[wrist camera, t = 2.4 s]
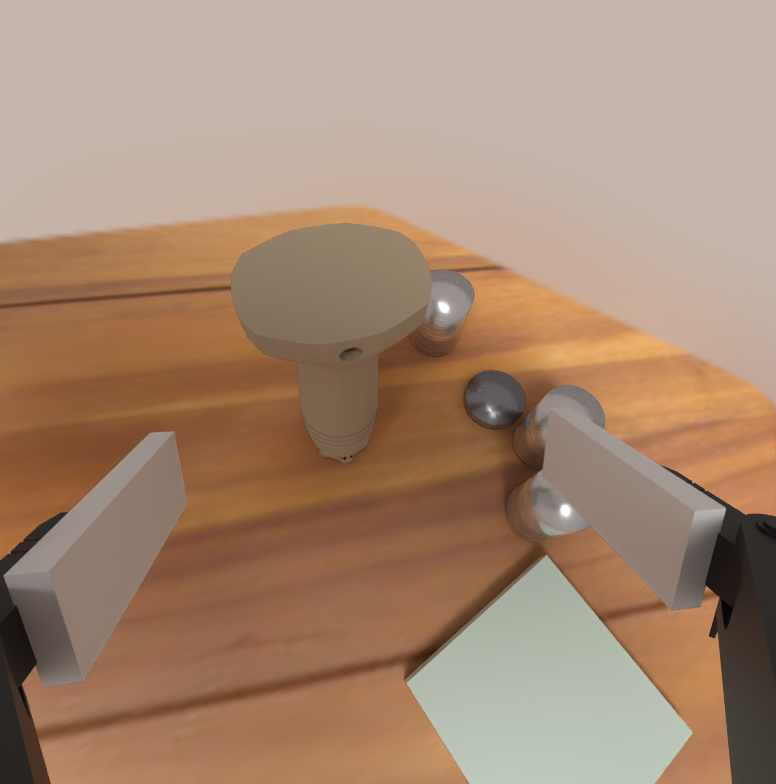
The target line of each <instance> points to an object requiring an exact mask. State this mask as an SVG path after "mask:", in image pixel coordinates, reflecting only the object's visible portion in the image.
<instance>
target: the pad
mask: <svg viewBox="0 0 776 784" xmlns="http://www.w3.org/2000/svg"><path fill="white" fill-rule="evenodd" d="M404 681H405V682H406V684H407V686H408V687H409V689H410V690H411V692H412V694H413V695H414V697H415V698H416V700H417V702H418V703H419V705H420V706H421V708H422V709H423V711H424V713H425V714H426V716H427V717H428V719H429V721H430V722H431V724H432V725H433V727H434V729H435V730H436V732H437V733H438V735H439V737H440V738H441V740H442V741H443V743H444V745H445V746H446V748H447V749H448V751H449V752H450V754H451V756H452V757H453V759H454V760H455V762H456V764H457V765H458V767H459V768H460V770H461V772H462V773H463V775H464V776H465V778H466V780H467V781H468V783H469V784H655V782H656V781H657V780H658V778H659V777H660V776H661V774H662V773H663V772H664V770H665V769H666V768H667V766H668V765H669V764H670V762H671V761H672V760H673V758H674V757H675V756H676V754H677V753H678V752H679V750H680V749H681V748H682V746H683V745H684V744H685V742H686V741H687V740H688V738H689V737H690V736H691V735H692V733H693V732H692V731H691V730H690V728H689V727H688V726H687V725H686V724H685V722H684V721H683V720H682V719H681V717H680V716H679V715H678V714H677V713H676V711H675V710H674V709H673V708H672V707H671V705H670V704H669V703H668V702H667V700H666V699H665V698H664V697H663V696H662V694H661V693H660V692H659V691H658V690H657V688H656V687H655V686H654V685H653V683H652V682H651V681H650V680H649V679H648V677H647V676H646V675H645V674H644V672H643V671H642V670H641V669H640V668H639V666H638V665H637V664H636V663H635V662H634V660H633V659H632V658H631V657H630V655H629V654H628V653H627V652H626V651H625V649H624V648H623V647H622V646H621V645H620V643H619V642H618V641H617V640H616V638H615V637H614V636H613V635H612V634H611V632H610V631H609V630H608V629H607V628H606V626H605V625H604V624H603V623H602V621H601V620H600V619H599V618H598V617H597V615H596V614H595V613H594V612H593V610H592V609H591V608H590V607H589V606H588V604H587V603H586V602H585V601H584V600H583V598H582V597H581V596H580V595H579V593H578V592H577V591H576V590H575V589H574V587H573V586H572V585H571V584H570V583H569V581H568V580H567V579H566V578H565V576H564V575H563V574H562V573H561V572H560V570H559V569H558V568H557V567H556V565H555V564H554V563H553V562H552V561H551V559H550V558H549V557H548V556H547V555H545V556H541V557H539V558H538V559H537V560H536V561H535V562H534V563H532V564H531V565H530V566H529V567H528V568H527V569H526V570H525V571H524V572H523V573H521V574H520V575H519V576H518V577H517V578H516V579H515V580H514V581H513V582H512V583H510V584H509V585H508V586H507V587H506V588H505V589H504V590H503V591H502V592H501V593H499V594H498V595H497V596H496V597H495V598H494V599H493V600H492V601H491V602H490V603H488V604H487V605H486V606H485V607H484V608H483V609H482V610H481V611H480V612H479V613H477V614H476V615H475V616H474V617H473V618H472V619H471V620H470V621H469V622H468V623H466V624H465V625H464V626H463V627H462V628H461V629H460V630H459V631H458V632H456V633H455V634H454V635H453V636H452V637H451V638H450V639H449V640H448V641H447V642H445V643H444V644H443V645H442V646H441V647H440V648H439V649H438V650H437V651H436V652H434V653H433V654H432V655H431V656H430V657H429V658H428V659H427V660H426V661H425V662H423V663H422V664H421V665H420V666H419V667H418V668H417V669H416V670H415V671H414V672H412V673H411V674H410V675H409V676H408V677H407V678H406V679H405V680H404Z"/></svg>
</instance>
